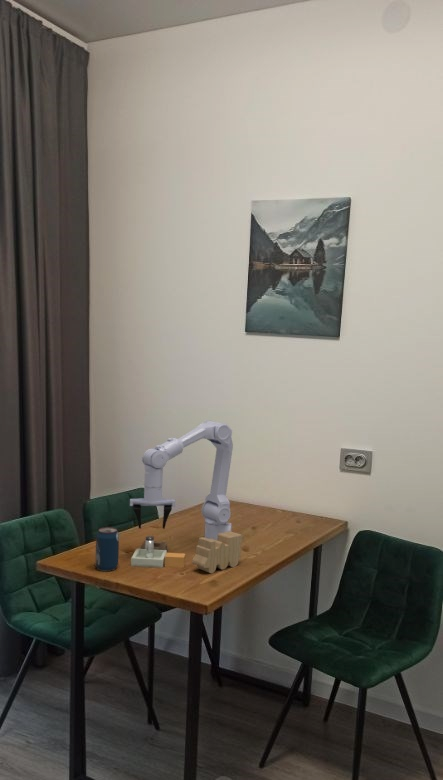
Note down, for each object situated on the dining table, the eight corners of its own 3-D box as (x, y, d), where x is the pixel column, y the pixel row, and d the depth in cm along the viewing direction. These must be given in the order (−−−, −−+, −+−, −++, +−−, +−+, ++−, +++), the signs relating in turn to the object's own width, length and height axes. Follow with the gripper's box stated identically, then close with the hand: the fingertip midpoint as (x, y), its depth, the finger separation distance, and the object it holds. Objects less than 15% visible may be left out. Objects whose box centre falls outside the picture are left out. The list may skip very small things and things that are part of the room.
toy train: (191, 571, 199) (193, 539, 198) (230, 560, 211) (231, 530, 210) (203, 576, 195) (205, 543, 194) (242, 564, 207) (243, 534, 206)
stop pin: (153, 558, 207) (153, 536, 207) (153, 560, 205) (154, 538, 204) (145, 558, 207) (145, 536, 206) (145, 561, 204) (145, 538, 204)
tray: (166, 557, 210) (167, 550, 210) (162, 567, 200) (163, 559, 200) (136, 556, 211) (136, 548, 211) (130, 566, 201) (131, 558, 201)
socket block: (167, 549, 219) (167, 542, 219) (164, 556, 211) (164, 549, 211) (143, 548, 220) (144, 540, 220) (139, 555, 212) (140, 547, 212)
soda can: (121, 566, 200) (123, 528, 200) (111, 573, 194) (112, 533, 193) (102, 563, 202) (103, 525, 202) (90, 569, 196) (92, 531, 195)
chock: (184, 564, 205) (185, 553, 205) (183, 568, 201) (184, 557, 201) (166, 563, 205) (166, 552, 205) (164, 567, 201) (165, 556, 201)
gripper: (175, 484, 212) (173, 524, 213) (130, 483, 210) (129, 524, 211) (176, 488, 205) (174, 530, 206) (130, 487, 203) (128, 530, 204)
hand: (151, 527), depth 208 cm, fingers open, 7 cm apart
